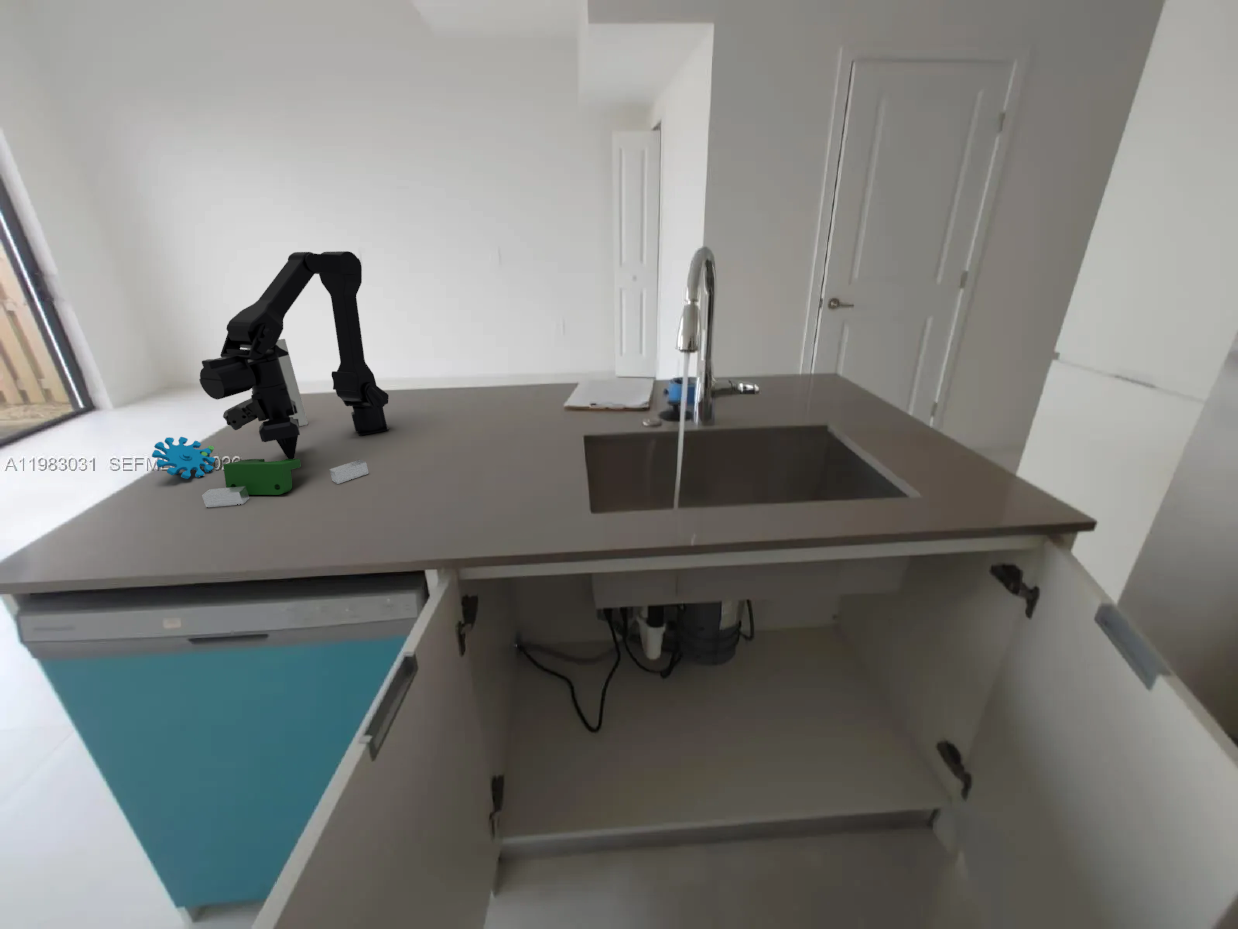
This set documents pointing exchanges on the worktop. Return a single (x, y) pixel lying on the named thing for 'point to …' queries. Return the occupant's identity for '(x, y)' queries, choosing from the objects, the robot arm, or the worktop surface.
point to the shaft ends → (241, 495)
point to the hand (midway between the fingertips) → (291, 458)
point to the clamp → (261, 475)
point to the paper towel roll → (291, 383)
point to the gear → (184, 457)
